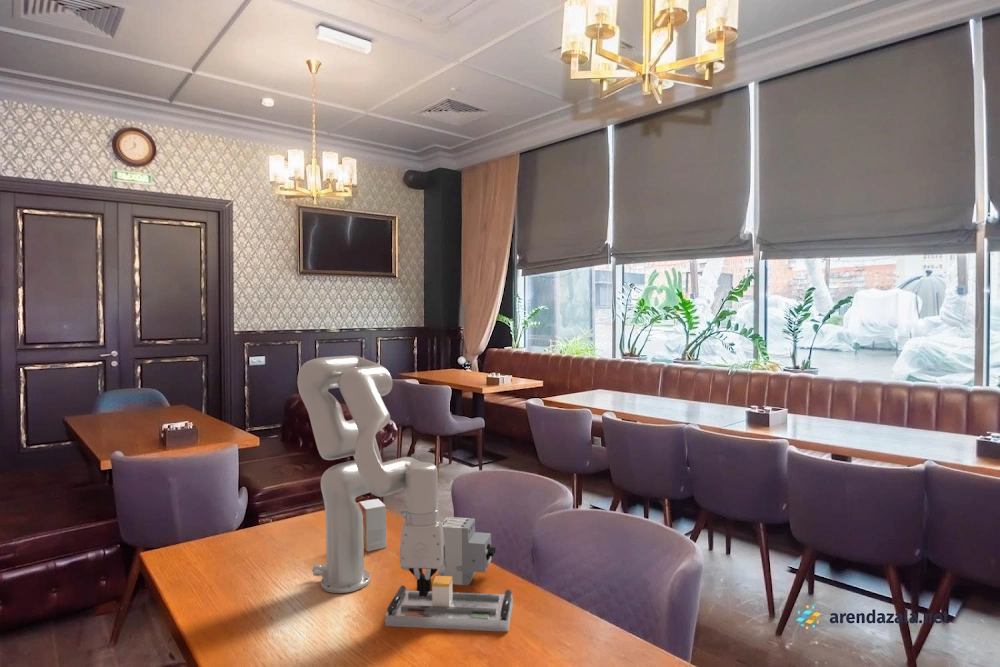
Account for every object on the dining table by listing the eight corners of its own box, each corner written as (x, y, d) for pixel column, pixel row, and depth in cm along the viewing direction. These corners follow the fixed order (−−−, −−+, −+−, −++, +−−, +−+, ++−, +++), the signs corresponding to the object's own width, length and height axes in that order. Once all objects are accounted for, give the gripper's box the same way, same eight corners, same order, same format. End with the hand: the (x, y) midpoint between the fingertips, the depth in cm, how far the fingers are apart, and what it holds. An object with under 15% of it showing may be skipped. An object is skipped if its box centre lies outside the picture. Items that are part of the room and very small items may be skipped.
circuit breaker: (491, 587, 150) (490, 530, 149) (438, 582, 152) (437, 526, 152) (497, 574, 157) (496, 519, 156) (446, 570, 160) (446, 516, 159)
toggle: (432, 606, 134) (432, 583, 134) (436, 598, 138) (435, 575, 138) (449, 607, 134) (449, 584, 134) (452, 599, 138) (452, 576, 138)
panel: (385, 626, 131) (385, 608, 131) (400, 600, 143) (399, 583, 143) (508, 631, 128) (507, 613, 128) (512, 604, 140) (512, 588, 140)
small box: (359, 542, 180) (358, 501, 180) (379, 539, 183) (378, 498, 183) (366, 552, 173) (365, 508, 173) (387, 547, 176) (386, 505, 176)
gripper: (386, 521, 133) (388, 600, 133) (450, 523, 131) (452, 603, 132) (396, 510, 140) (397, 585, 141) (456, 512, 139) (458, 587, 139)
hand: (424, 593), depth 136 cm, fingers closed
